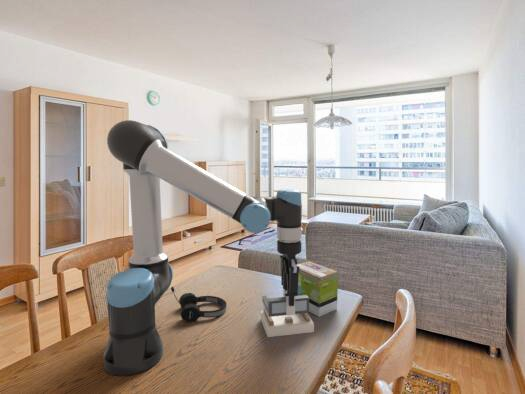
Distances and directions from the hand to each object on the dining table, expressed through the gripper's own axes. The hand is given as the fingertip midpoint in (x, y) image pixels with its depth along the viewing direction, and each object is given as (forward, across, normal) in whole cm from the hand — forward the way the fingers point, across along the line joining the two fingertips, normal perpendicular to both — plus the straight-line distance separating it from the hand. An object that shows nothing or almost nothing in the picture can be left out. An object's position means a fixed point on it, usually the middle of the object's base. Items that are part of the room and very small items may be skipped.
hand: (289, 312), depth 98 cm
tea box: (+7, +15, -14) cm, 21 cm away
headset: (+7, +18, +28) cm, 34 cm away
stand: (+6, +3, 0) cm, 7 cm away
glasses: (0, +4, 0) cm, 4 cm away
